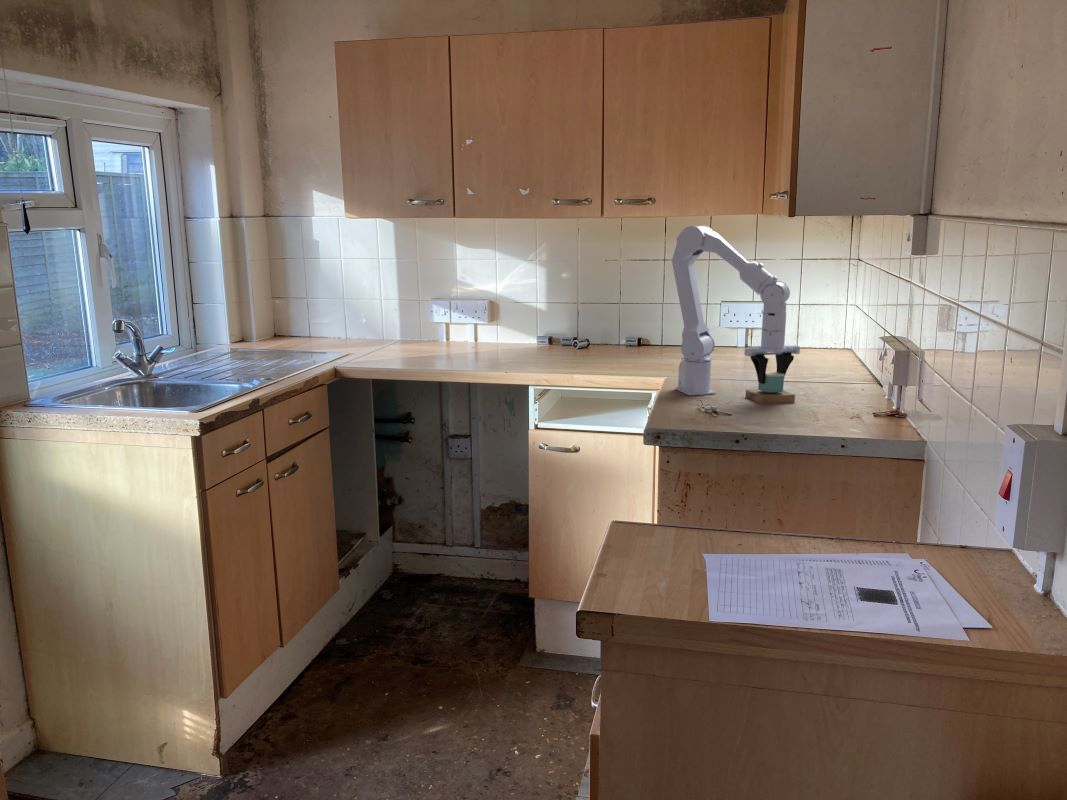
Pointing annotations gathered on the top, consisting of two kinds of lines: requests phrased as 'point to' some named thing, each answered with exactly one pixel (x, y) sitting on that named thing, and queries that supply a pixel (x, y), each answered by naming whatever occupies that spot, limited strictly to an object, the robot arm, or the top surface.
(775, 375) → the teal tin
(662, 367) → the top surface
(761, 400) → the walnut block
